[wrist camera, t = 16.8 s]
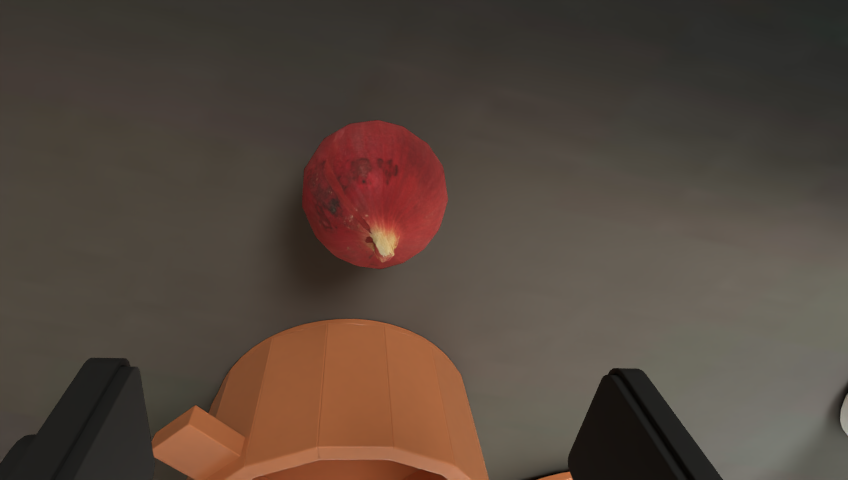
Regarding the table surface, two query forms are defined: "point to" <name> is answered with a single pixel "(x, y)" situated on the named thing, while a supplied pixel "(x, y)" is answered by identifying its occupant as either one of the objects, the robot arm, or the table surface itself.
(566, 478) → the lid
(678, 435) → the robot arm
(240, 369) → the pot
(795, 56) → the table surface
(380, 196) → the red rounded piece
